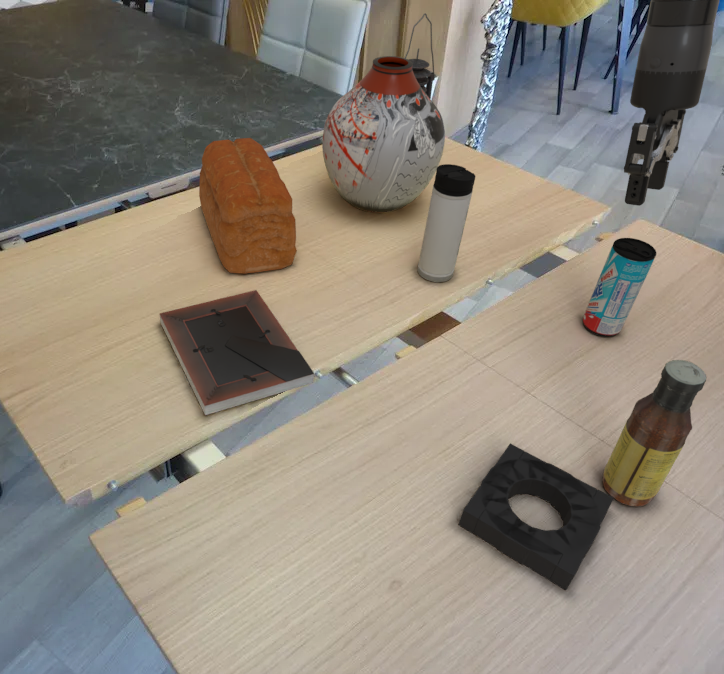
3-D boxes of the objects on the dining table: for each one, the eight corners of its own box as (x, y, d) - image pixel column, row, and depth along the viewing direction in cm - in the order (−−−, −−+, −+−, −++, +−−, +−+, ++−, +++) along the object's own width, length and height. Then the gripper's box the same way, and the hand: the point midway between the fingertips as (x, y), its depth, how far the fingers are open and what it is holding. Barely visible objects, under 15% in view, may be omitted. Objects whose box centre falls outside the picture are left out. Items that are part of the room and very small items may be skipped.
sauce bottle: (659, 487, 83) (733, 372, 70) (642, 518, 80) (716, 403, 67) (607, 459, 87) (669, 344, 74) (588, 488, 83) (649, 373, 70)
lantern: (407, 136, 162) (427, 2, 143) (438, 152, 156) (464, 14, 136) (368, 148, 157) (384, 11, 137) (399, 165, 150) (420, 24, 131)
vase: (422, 176, 146) (446, 43, 128) (440, 232, 129) (471, 87, 110) (316, 173, 146) (325, 40, 128) (320, 229, 129) (330, 83, 111)
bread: (263, 196, 138) (264, 126, 128) (300, 268, 119) (304, 191, 109) (197, 204, 135) (192, 132, 126) (223, 278, 116) (220, 201, 106)
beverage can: (596, 311, 111) (629, 233, 101) (627, 330, 107) (665, 252, 97) (573, 323, 108) (604, 244, 98) (604, 343, 104) (640, 264, 95)
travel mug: (408, 268, 119) (427, 164, 106) (438, 259, 122) (459, 156, 109) (430, 287, 115) (452, 181, 102) (460, 277, 117) (485, 172, 104)
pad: (607, 512, 80) (615, 497, 78) (566, 592, 72) (575, 577, 71) (503, 457, 87) (509, 441, 85) (456, 524, 79) (461, 509, 77)
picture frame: (313, 385, 96) (256, 300, 111) (314, 372, 95) (256, 288, 109) (205, 417, 91) (160, 324, 106) (204, 405, 89) (159, 312, 104)
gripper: (690, 73, 74) (659, 215, 82) (720, 59, 83) (690, 187, 91) (618, 71, 79) (595, 205, 86) (655, 58, 88) (631, 180, 95)
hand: (644, 196), depth 88 cm, fingers open, 8 cm apart
